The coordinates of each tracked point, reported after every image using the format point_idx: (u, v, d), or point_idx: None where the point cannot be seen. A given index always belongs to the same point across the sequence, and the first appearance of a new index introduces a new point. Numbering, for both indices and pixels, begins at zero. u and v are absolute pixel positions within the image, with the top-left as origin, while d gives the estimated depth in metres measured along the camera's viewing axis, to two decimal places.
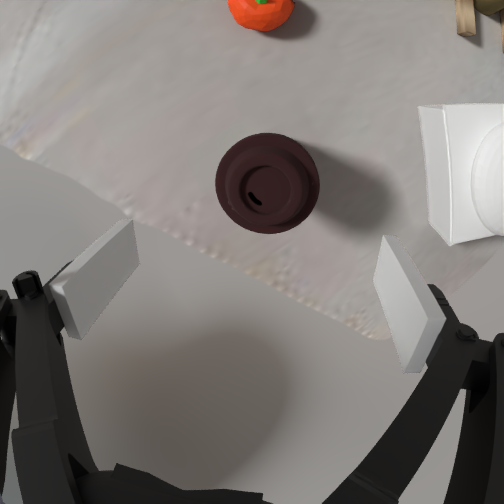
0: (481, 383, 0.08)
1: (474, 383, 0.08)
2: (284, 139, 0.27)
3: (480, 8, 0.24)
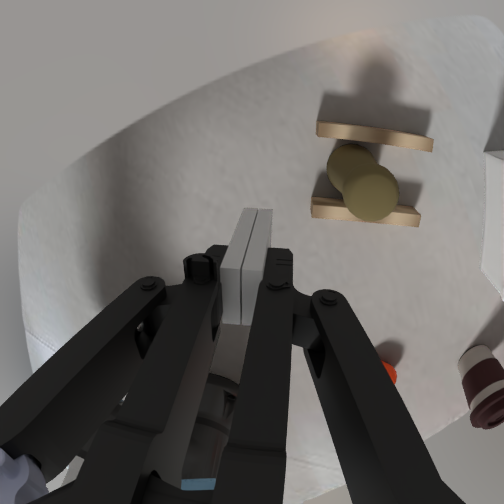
0: (305, 339, 0.11)
1: (297, 337, 0.11)
2: (482, 409, 0.34)
3: None
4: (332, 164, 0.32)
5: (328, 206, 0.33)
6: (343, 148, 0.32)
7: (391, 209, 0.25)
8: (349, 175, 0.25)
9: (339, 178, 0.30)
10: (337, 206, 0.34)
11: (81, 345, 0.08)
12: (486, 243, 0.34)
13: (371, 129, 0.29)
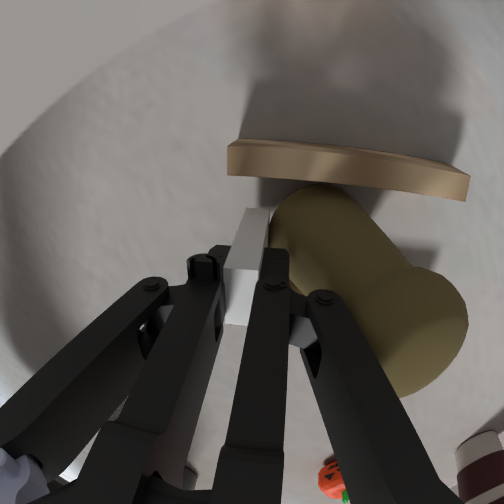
0: (301, 339, 0.11)
1: (293, 337, 0.11)
2: None
3: None
4: (284, 237, 0.16)
5: None
6: (305, 197, 0.16)
7: (446, 366, 0.10)
8: (371, 320, 0.09)
9: (313, 285, 0.13)
10: None
11: (83, 345, 0.08)
12: None
13: (342, 155, 0.14)
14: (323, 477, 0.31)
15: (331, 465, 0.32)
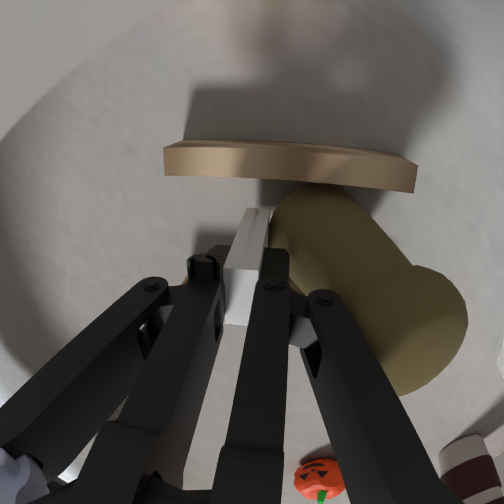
0: (301, 338, 0.11)
1: (293, 337, 0.11)
2: None
3: None
4: (284, 236, 0.16)
5: None
6: (305, 196, 0.16)
7: (446, 365, 0.10)
8: (370, 319, 0.09)
9: (313, 283, 0.13)
10: None
11: (83, 345, 0.08)
12: None
13: (272, 151, 0.15)
14: (298, 477, 0.32)
15: (306, 465, 0.32)
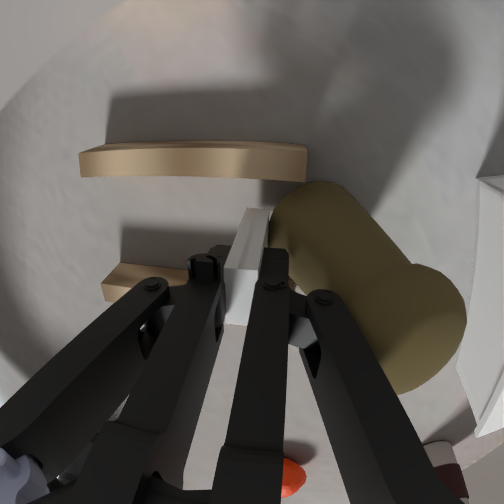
0: (300, 339, 0.11)
1: (292, 337, 0.11)
2: None
3: None
4: (284, 235, 0.16)
5: (120, 286, 0.20)
6: (305, 194, 0.16)
7: (445, 363, 0.10)
8: (369, 316, 0.09)
9: (312, 281, 0.13)
10: None
11: (84, 345, 0.08)
12: (468, 336, 0.20)
13: (161, 150, 0.15)
14: None
15: None
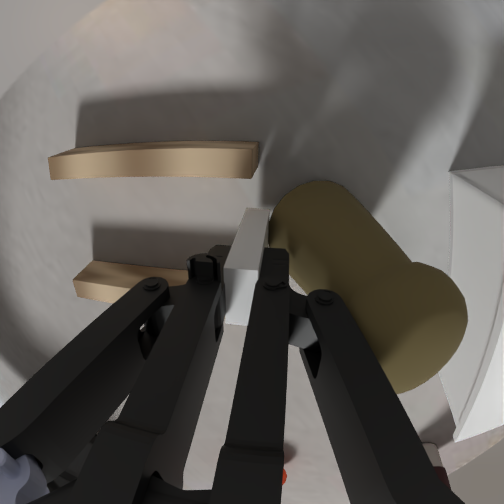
0: (300, 338, 0.11)
1: (293, 337, 0.11)
2: None
3: None
4: (285, 233, 0.16)
5: (89, 283, 0.20)
6: (305, 193, 0.16)
7: (446, 362, 0.10)
8: (370, 314, 0.09)
9: (313, 279, 0.13)
10: (103, 282, 0.20)
11: (83, 345, 0.08)
12: None
13: (118, 152, 0.16)
14: None
15: None
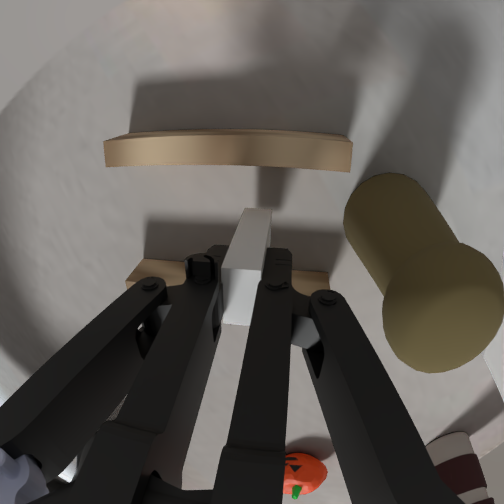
0: (303, 339, 0.11)
1: (296, 337, 0.11)
2: None
3: None
4: (356, 215, 0.16)
5: None
6: (379, 182, 0.16)
7: None
8: (408, 279, 0.10)
9: (372, 255, 0.14)
10: None
11: (82, 345, 0.08)
12: None
13: (199, 137, 0.15)
14: None
15: None
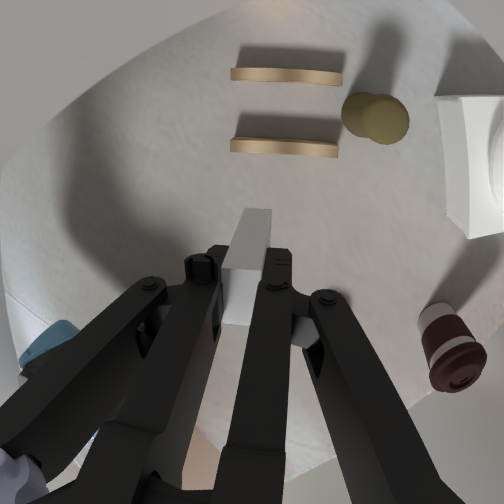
0: (303, 339, 0.11)
1: (296, 337, 0.11)
2: (440, 366, 0.36)
3: None
4: (347, 107, 0.33)
5: (243, 140, 0.36)
6: (356, 94, 0.33)
7: (403, 132, 0.26)
8: (365, 103, 0.27)
9: (355, 113, 0.31)
10: (252, 140, 0.36)
11: (82, 345, 0.08)
12: (448, 186, 0.36)
13: (278, 69, 0.32)
14: None
15: None
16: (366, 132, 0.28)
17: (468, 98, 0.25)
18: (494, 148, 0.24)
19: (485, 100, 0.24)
